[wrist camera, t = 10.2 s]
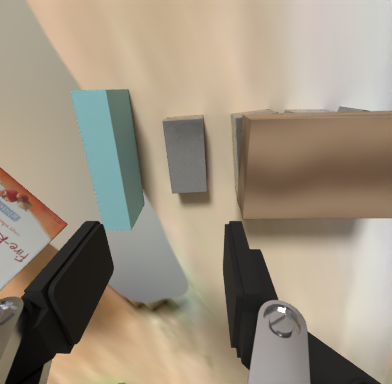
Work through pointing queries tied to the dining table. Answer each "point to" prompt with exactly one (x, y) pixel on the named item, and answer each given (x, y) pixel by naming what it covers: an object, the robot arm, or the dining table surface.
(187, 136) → the bar
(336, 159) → the board
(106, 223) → the block
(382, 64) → the dining table surface
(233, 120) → the bar
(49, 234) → the cracker box
